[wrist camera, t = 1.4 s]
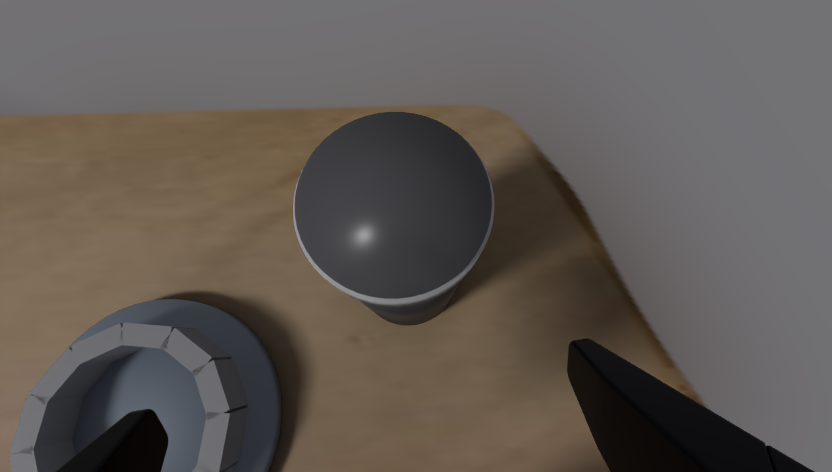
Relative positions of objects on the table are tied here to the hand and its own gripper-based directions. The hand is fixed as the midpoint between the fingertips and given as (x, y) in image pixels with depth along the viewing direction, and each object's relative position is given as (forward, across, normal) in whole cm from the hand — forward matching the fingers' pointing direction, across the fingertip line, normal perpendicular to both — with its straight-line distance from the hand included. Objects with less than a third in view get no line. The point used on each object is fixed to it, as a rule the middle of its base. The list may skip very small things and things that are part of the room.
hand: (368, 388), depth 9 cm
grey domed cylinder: (+12, -1, +5) cm, 14 cm away
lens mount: (+9, +12, +9) cm, 18 cm away
